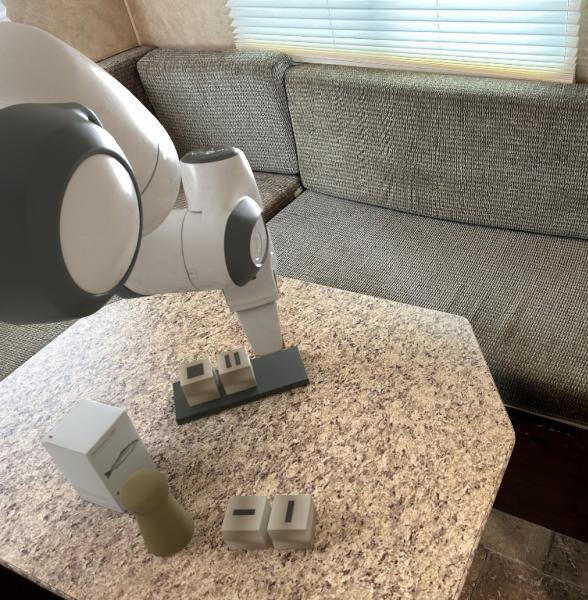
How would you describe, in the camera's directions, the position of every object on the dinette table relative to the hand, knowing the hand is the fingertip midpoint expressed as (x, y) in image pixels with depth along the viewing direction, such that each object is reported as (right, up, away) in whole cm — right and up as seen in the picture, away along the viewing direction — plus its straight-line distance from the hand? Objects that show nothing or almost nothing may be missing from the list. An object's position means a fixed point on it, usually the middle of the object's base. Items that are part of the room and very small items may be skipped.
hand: (265, 335), depth 90 cm
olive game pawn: (-9, -24, -14) cm, 29 cm away
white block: (+7, -23, -16) cm, 29 cm away
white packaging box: (-18, -20, -8) cm, 28 cm away
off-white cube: (+2, -23, -15) cm, 28 cm away
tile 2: (-5, -7, +3) cm, 9 cm away
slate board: (-5, -8, +4) cm, 10 cm away
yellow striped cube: (0, -1, +1) cm, 2 cm away
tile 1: (-10, -9, +2) cm, 13 cm away
